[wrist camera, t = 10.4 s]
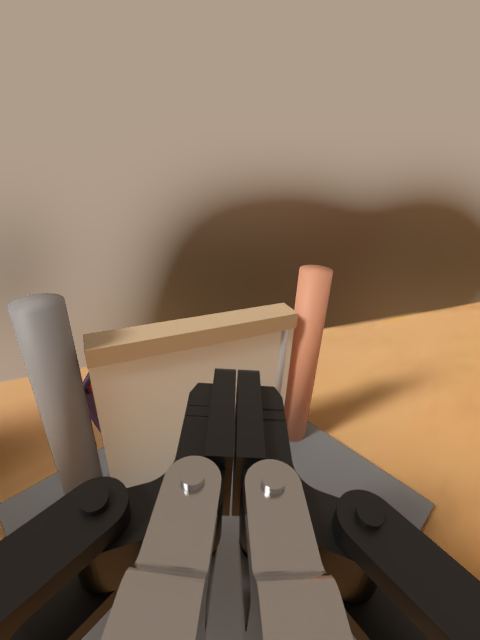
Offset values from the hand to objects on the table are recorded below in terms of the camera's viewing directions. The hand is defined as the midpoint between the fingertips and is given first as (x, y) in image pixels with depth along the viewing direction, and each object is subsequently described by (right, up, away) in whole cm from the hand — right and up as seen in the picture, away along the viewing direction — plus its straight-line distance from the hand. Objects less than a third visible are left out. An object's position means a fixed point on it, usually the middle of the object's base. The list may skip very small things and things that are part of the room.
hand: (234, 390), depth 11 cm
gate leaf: (-3, -9, +16) cm, 19 cm away
